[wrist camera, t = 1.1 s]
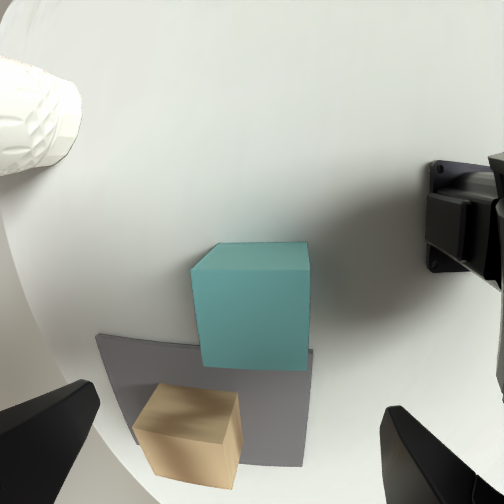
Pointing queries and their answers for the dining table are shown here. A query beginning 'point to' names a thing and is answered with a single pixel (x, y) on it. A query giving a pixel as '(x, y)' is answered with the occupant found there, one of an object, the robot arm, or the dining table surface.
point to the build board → (213, 378)
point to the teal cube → (253, 305)
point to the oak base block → (192, 435)
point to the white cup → (35, 116)
